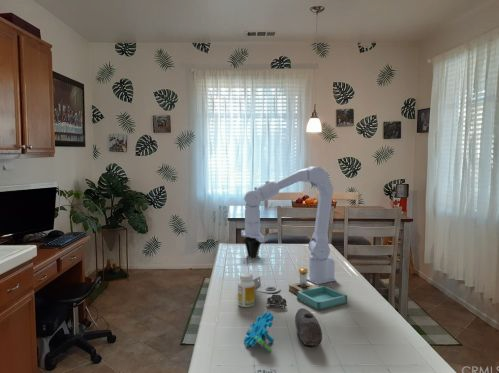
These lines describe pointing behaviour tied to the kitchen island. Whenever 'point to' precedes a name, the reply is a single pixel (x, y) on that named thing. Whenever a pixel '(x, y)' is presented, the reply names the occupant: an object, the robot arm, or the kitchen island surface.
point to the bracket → (265, 287)
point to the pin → (303, 277)
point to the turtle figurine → (276, 301)
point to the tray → (321, 297)
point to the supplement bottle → (246, 290)
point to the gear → (260, 331)
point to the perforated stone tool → (308, 327)
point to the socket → (296, 287)
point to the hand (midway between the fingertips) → (252, 257)
